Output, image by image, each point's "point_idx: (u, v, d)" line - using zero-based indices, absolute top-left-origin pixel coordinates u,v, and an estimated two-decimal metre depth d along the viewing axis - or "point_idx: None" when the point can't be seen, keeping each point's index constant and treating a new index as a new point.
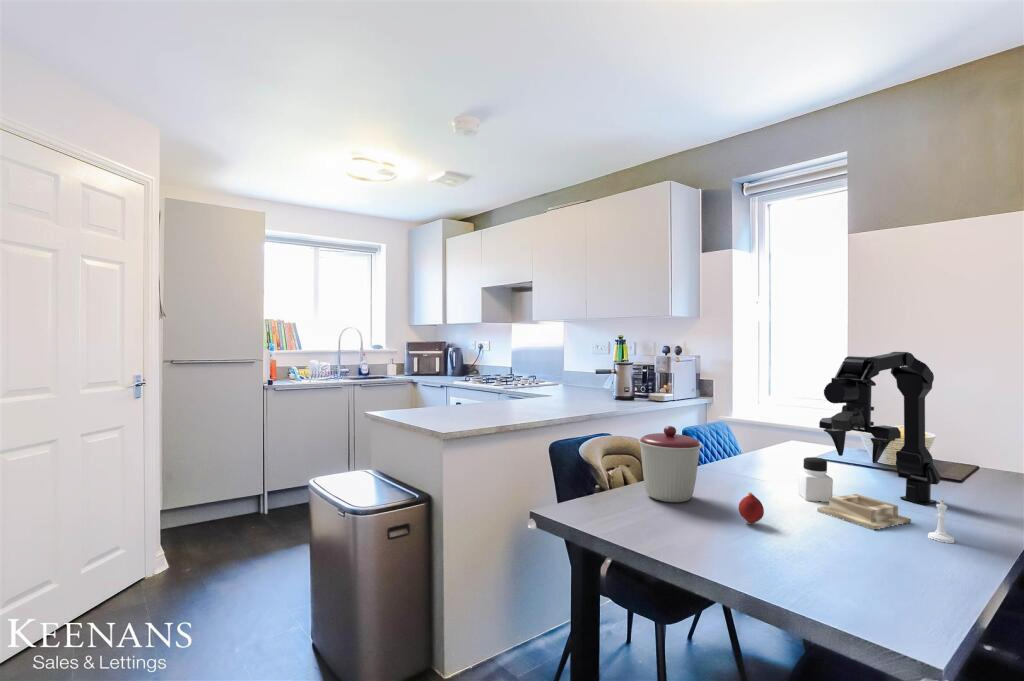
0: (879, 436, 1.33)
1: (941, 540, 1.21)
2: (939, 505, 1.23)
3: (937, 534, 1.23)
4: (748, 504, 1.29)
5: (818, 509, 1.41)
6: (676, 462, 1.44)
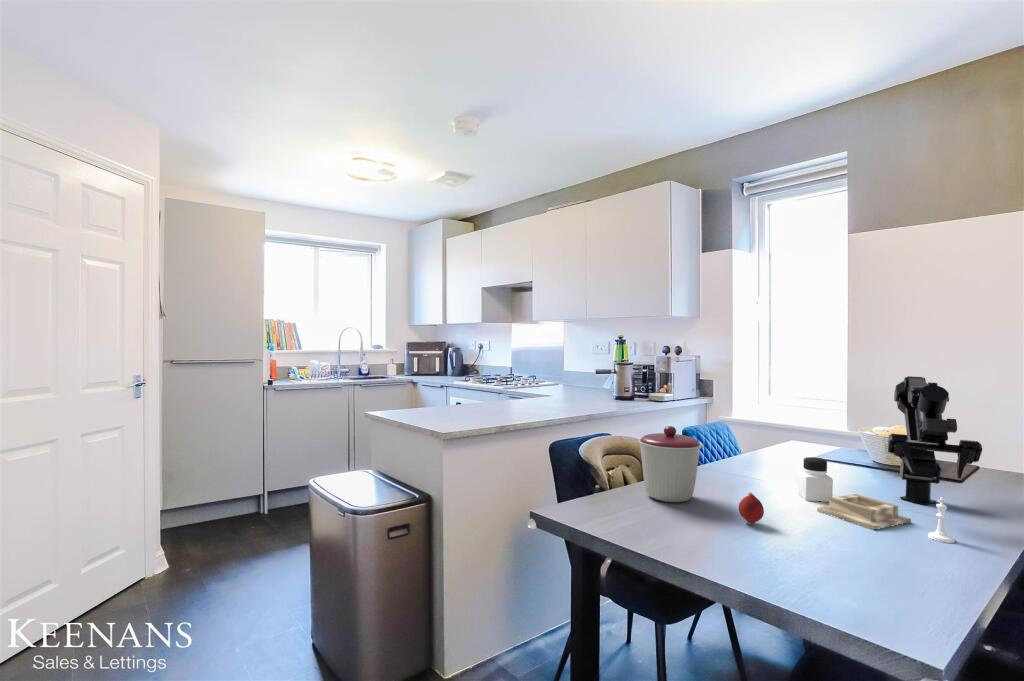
0: (972, 446, 1.29)
1: (941, 540, 1.21)
2: (939, 505, 1.23)
3: (937, 534, 1.23)
4: (748, 504, 1.29)
5: (818, 509, 1.41)
6: (676, 462, 1.44)
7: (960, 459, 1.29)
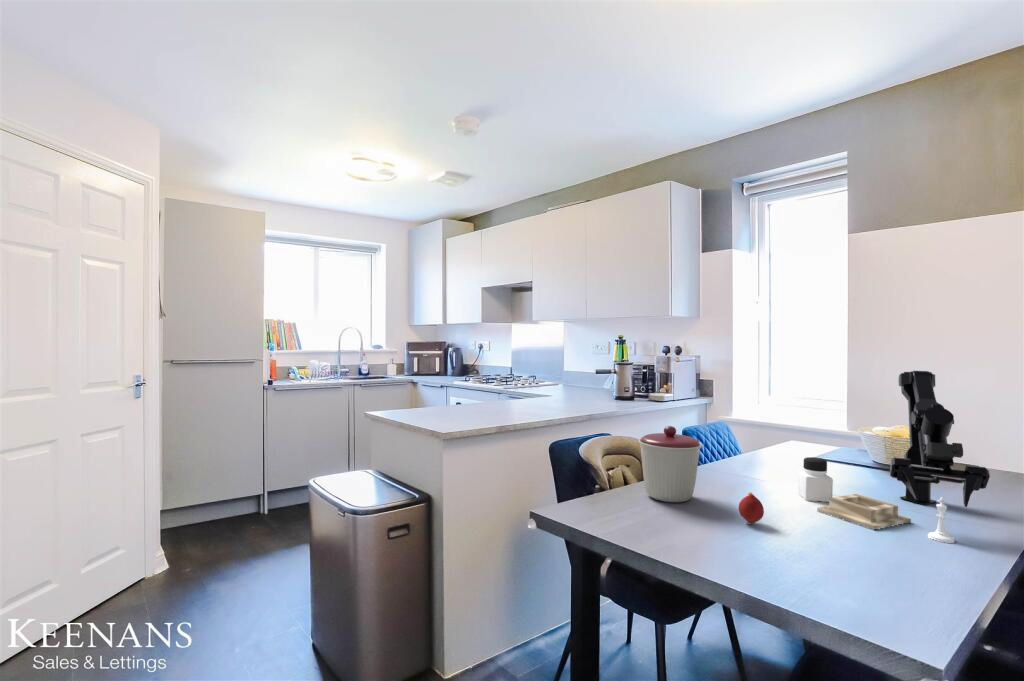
0: (979, 472, 1.23)
1: (941, 540, 1.21)
2: (939, 505, 1.23)
3: (937, 534, 1.23)
4: (748, 504, 1.29)
5: (818, 509, 1.41)
6: (676, 462, 1.44)
7: (966, 486, 1.23)
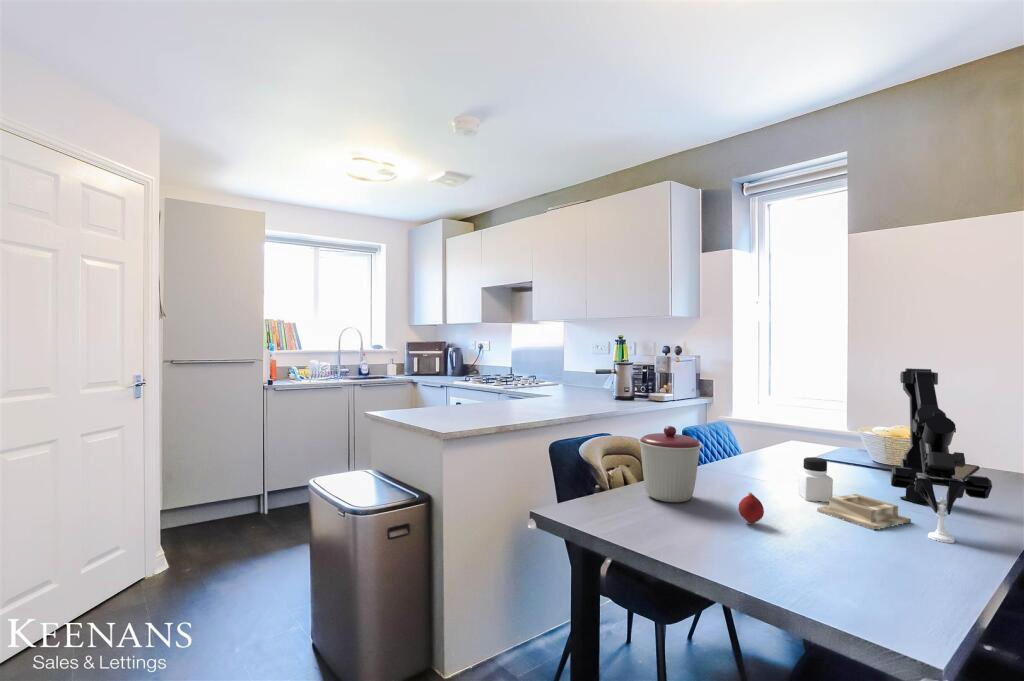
0: (981, 482, 1.21)
1: (941, 540, 1.21)
2: (939, 505, 1.23)
3: (937, 534, 1.23)
4: (748, 504, 1.29)
5: (818, 509, 1.41)
6: (676, 462, 1.44)
7: (949, 494, 1.23)
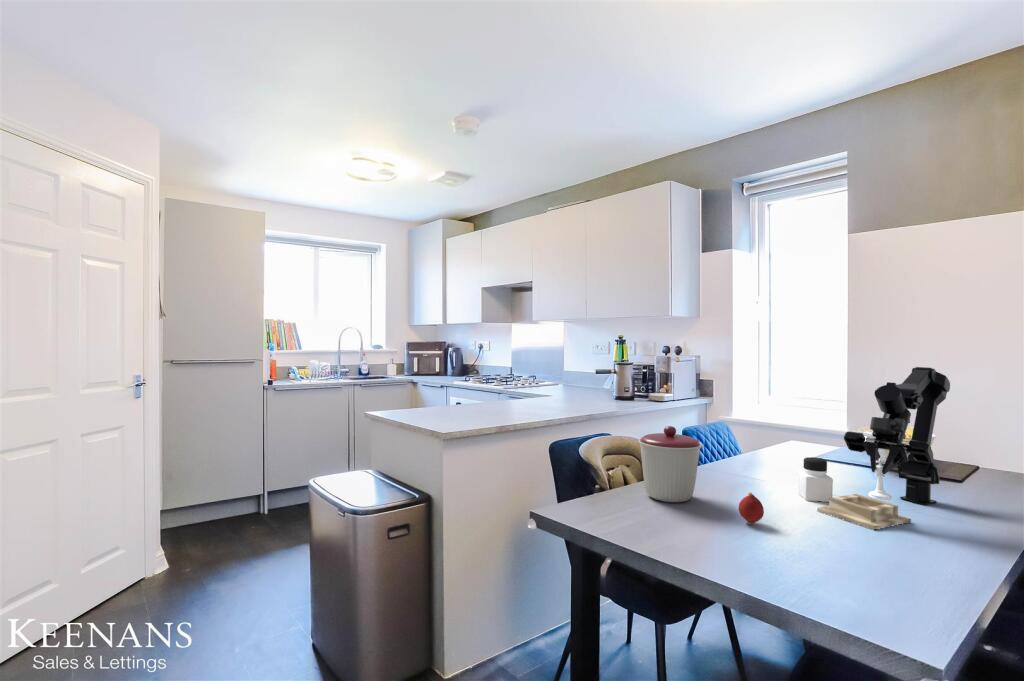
0: (918, 446, 1.29)
1: (875, 497, 1.33)
2: (877, 465, 1.34)
3: (875, 492, 1.34)
4: (748, 504, 1.29)
5: (818, 509, 1.41)
6: (676, 462, 1.44)
7: (888, 456, 1.33)
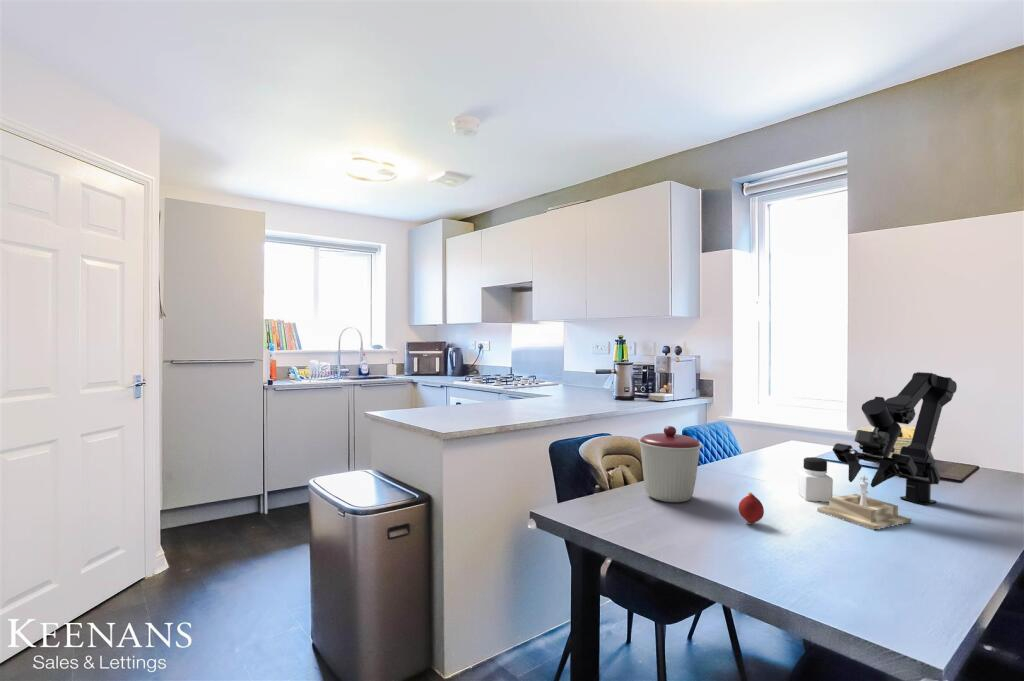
0: (899, 459, 1.32)
1: None
2: (860, 482, 1.38)
3: None
4: (748, 504, 1.29)
5: (818, 509, 1.41)
6: (676, 462, 1.44)
7: (878, 469, 1.35)
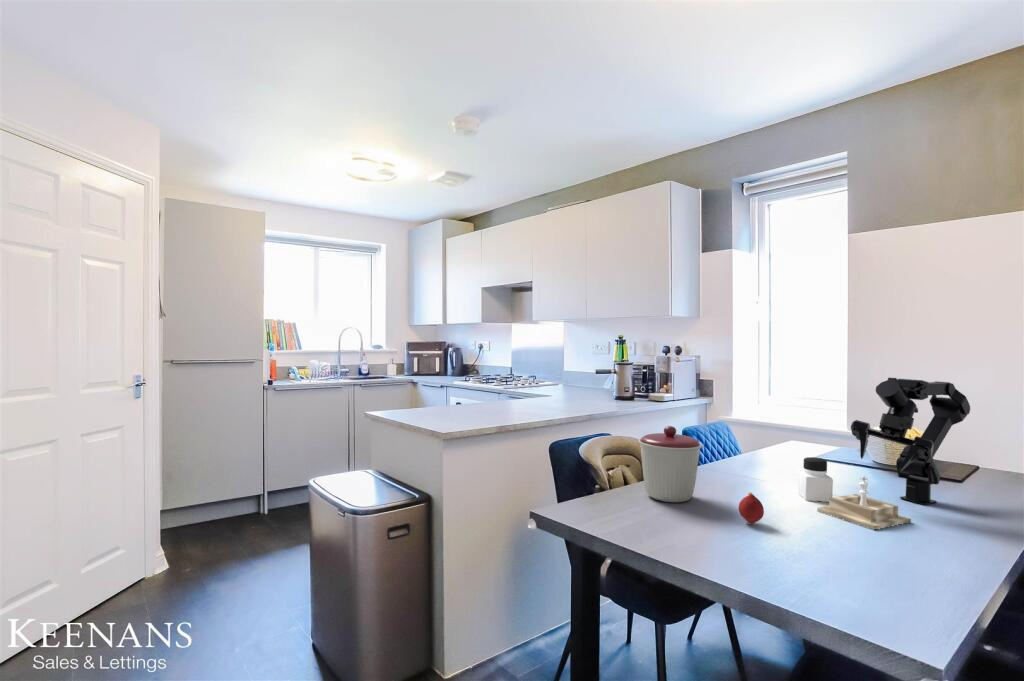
0: (922, 444, 1.38)
1: None
2: (860, 482, 1.38)
3: None
4: (748, 504, 1.29)
5: (818, 509, 1.41)
6: (676, 462, 1.44)
7: (907, 454, 1.39)
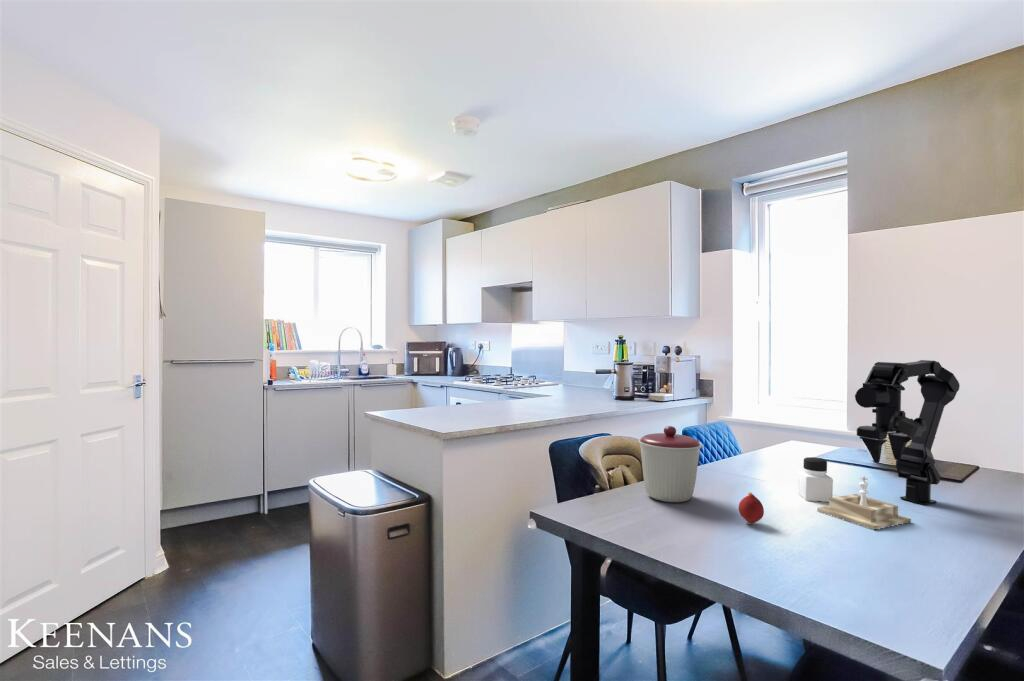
0: None
1: None
2: (860, 482, 1.38)
3: None
4: (748, 504, 1.29)
5: (818, 509, 1.41)
6: (676, 462, 1.44)
7: (903, 445, 1.47)
